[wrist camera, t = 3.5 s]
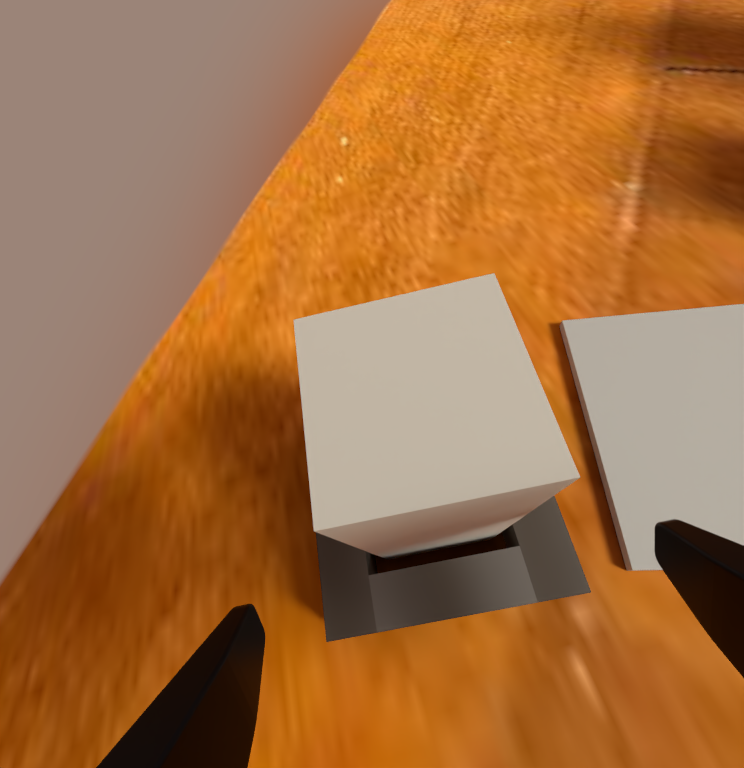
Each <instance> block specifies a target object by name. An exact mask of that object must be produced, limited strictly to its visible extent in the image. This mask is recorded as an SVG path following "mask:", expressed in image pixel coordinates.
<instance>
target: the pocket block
mask: <svg viewBox="0 0 744 768" xmlns="http://www.w3.org/2000/svg"><path fill="white" fill-rule="evenodd" d="M502 535H503V538H504V541H505V544H506V549H501V550H496V551H491V552H486V553H481V554H476V555H470V556H465V557H460V558H455V559H450V560H445V561H440V562H435V563H429V564H424V565H419V566H414V567H409V568H404V569H399V570H394V571H389V572H383V573H378V572H377V566H376V560H375V555H374V554H372V553H369V552H366V551H364V550H361V549H359V548H356V547H353V546H351V545H348V544H346V543H343V542H340V541H338V540H335V539H332V538H330V537H327V536H325V535H322V534H319V533H317V532H316V538H317V549H318V559H319V569H320V579H321V589H322V600H323V610H324V620H325V630H326V641H327V642H329V641H334V640H340V639H345V638H350V637H356V636H361V635H366V634H372V633H377V632H382V631H388V630H393V629H398V628H404V627H409V626H414V625H420V624H425V623H430V622H436V621H441V620H446V619H452V618H457V617H462V616H468V615H473V614H478V613H484V612H489V611H494V610H500V609H505V608H510V607H516V606H521V605H526V604H532V603H537V602H542V601H548V600H553V599H558V598H564V597H569V596H574V595H580V594H585V593H590V592H591V591H590V588H589V585H588V583H587V580H586V578H585V575H584V572H583V570H582V567H581V564H580V562H579V559H578V557H577V554H576V551H575V549H574V546H573V543H572V541H571V538H570V536H569V533H568V530H567V528H566V525H565V523H564V520H563V517H562V515H561V512H560V509H559V507H558V504H557V502H556V499H555V496H553V497H551V498H550V499H548V500H547V501H545V502H544V503H543V504H541V505H540V506H538V507H537V508H535V509H534V510H533V511H531V512H530V513H528V514H527V515H525V516H524V517H522V518H521V519H520V520H518V521H517V522H515V523H514V524H512V525H511V526H509V527H508V528H507V529H505V530H504V531H502Z"/></svg>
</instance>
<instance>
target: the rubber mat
mask: <svg viewBox="0 0 744 768" xmlns="http://www.w3.org/2000/svg"><path fill="white" fill-rule="evenodd" d="M560 330H561V334H562V338H563V341H564V345H565V349H566V352H567V356H568V359H569V363H570V367H571V370H572V374H573V378H574V381H575V385H576V389H577V392H578V396H579V399H580V403H581V407H582V410H583V414H584V418H585V421H586V425H587V428H588V432H589V436H590V439H591V443H592V447H593V450H594V454H595V458H596V461H597V465H598V468H599V472H600V476H601V479H602V483H603V487H604V490H605V494H606V498H607V501H608V505H609V508H610V512H611V516H612V519H613V523H614V527H615V530H616V534H617V537H618V541H619V545H620V548H621V552H622V556H623V559H624V563H625V567H626V570H627V571H628V570H663V569H662V568H661V567H660V565H659V563H658V561H657V559H656V557H655V525H656V524H657V523H658V522H662V521H667V520H672V519H678V520H681V521H684V522H686V523H689V524H691V525H694V526H696V527H699V528H701V529H704V530H706V531H709V532H711V533H714V534H716V535H719V536H721V537H724V538H726V539H729V540H731V541H734V542H736V543H739V544H741V545H744V304H738V305H727V306H717V307H706V308H695V309H684V310H673V311H662V312H651V313H640V314H630V315H619V316H608V317H597V318H586V319H575V320H564V321H562V322H561V324H560Z"/></svg>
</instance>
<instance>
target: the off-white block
mask: <svg viewBox="0 0 744 768" xmlns="http://www.w3.org/2000/svg"><path fill="white" fill-rule="evenodd" d="M294 329H295V340H296V350H297V361H298V371H299V382H300V392H301V403H302V413H303V423H304V434H305V444H306V455H307V465H308V476H309V486H310V497H311V507H312V518H313V528H314V532H317V533H319V534H322V535H325V536H327V537H330V538H332V539H335V540H338V541H340V542H343V543H346V544H348V545H351V546H353V547H356V548H359V549H361V550H364V551H366V552H369V553H372V554H374V555H377V556H380V557H382V558H385V559H387V560H390V559H395V558H400V557H405V556H410V555H415V554H420V553H425V552H430V551H435V550H440V549H445V548H451V547H456V546H461V545H466V544H471V543H476V542H481V541H486V540H491V539H492V538H494V537H495V536H497V535H498V534H499V533H501V532H502V531H504V530H505V529H507V528H508V527H509V526H511V525H512V524H514V523H515V522H517V521H518V520H520V519H521V518H522V517H524V516H525V515H527V514H528V513H530V512H531V511H533V510H534V509H535V508H537V507H538V506H540V505H541V504H543V503H544V502H545V501H547V500H548V499H550V498H551V497H553V496H554V495H556V494H557V493H558V492H560V491H561V490H563V489H564V488H566V487H567V486H568V485H570V484H571V483H573V482H574V481H576V480H577V479H579V478H580V476H579V473H578V471H577V468H576V466H575V464H574V461H573V459H572V457H571V454H570V452H569V449H568V447H567V445H566V442H565V440H564V438H563V435H562V433H561V430H560V428H559V426H558V423H557V421H556V419H555V416H554V414H553V411H552V409H551V407H550V404H549V402H548V400H547V397H546V395H545V392H544V390H543V388H542V385H541V383H540V381H539V378H538V376H537V374H536V371H535V369H534V366H533V364H532V362H531V359H530V357H529V355H528V352H527V350H526V347H525V345H524V343H523V340H522V338H521V336H520V333H519V331H518V328H517V326H516V324H515V321H514V319H513V317H512V314H511V312H510V309H509V307H508V305H507V302H506V300H505V298H504V295H503V293H502V291H501V288H500V286H499V283H498V281H497V279H496V276H495V274H494V273H493V274H489V275H484V276H480V277H476V278H471V279H467V280H463V281H458V282H454V283H450V284H446V285H441V286H437V287H433V288H428V289H424V290H420V291H415V292H411V293H407V294H402V295H398V296H394V297H390V298H385V299H381V300H377V301H372V302H368V303H364V304H359V305H355V306H351V307H347V308H342V309H338V310H334V311H329V312H325V313H321V314H316V315H312V316H308V317H303V318H299V319H295V320H294Z"/></svg>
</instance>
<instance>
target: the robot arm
mask: <svg viewBox="0 0 744 768" xmlns="http://www.w3.org/2000/svg"><path fill="white" fill-rule="evenodd" d="M655 557H656V559H657V561H658V563H659V565H660V567H661V568H662V569H663V571H664V572H665V574H666V575H667V577H668V578H669V579H670V581H671V582H672V584H673V585H674V587H675V588H676V589H677V591H678V592H679V594H680V595H681V597H682V598H683V600H684V601H685V602H686V604H687V605H688V607H689V608H690V610H691V611H692V612H693V614H694V615H695V617H696V618H697V620H698V621H699V622H700V624H701V625H702V627H703V628H704V629H705V631H706V632H707V633H708V635H709V636H710V637H711V639H712V640H713V641H714V642H715V644H716V645H717V646H718V647H719V649H720V650H721V651H722V652H723V654H724V655H725V656H726V657H727V658H728V660H729V661H730V662H731V663H732V664H733V666H734V667H735V668H736V669H737V670H738V672H739V673H740V674H741V675H742V676H743V678H744V545H741V544H739V543H736V542H734V541H731V540H729V539H726V538H724V537H721V536H719V535H716V534H714V533H711V532H709V531H706V530H704V529H701V528H699V527H696V526H694V525H691V524H689V523H686V522H684V521H681V520H678V519H672V520H667V521H662V522H658V523H657V524H656V525H655ZM264 647H265V632H264V628H263V626H262V623H261V621H260V619H259V616H258V614H257V612H256V609H255V607H254V606H253V605H252V604H246V605H241V606H236V607H234V608H233V609H232V610H231V611H230V612H229V613H228V614H227V615H226V617H225V618H224V619H223V620H222V621H221V622H220V624H219V625H218V626H217V627H216V628H215V629H214V631H213V632H212V633H211V634H210V635H209V636H208V638H207V639H206V640H205V641H204V642H203V643H202V645H201V646H200V647H199V648H198V649H197V650H196V652H195V653H194V654H193V655H192V656H191V657H190V659H189V660H188V661H187V662H186V663H185V664H184V666H183V667H182V668H181V669H180V670H179V672H178V673H177V674H176V675H175V676H174V677H173V679H172V680H171V681H170V682H169V683H168V684H167V686H166V687H165V688H164V689H163V690H162V691H161V693H160V694H159V695H158V696H157V697H156V698H155V700H154V701H153V702H152V703H151V704H150V705H149V707H148V708H147V709H146V710H145V711H144V712H143V714H142V715H141V716H140V717H139V718H138V719H137V721H136V722H135V723H134V724H133V725H132V726H131V728H130V729H129V730H128V731H127V732H126V733H125V735H124V736H123V737H122V738H121V739H120V741H119V742H118V743H117V744H116V745H115V746H114V748H113V749H112V750H111V751H110V752H109V753H108V755H107V756H106V757H105V758H104V759H103V760H102V762H101V763H100V764H99V765H98V766H97V767H96V768H247V767H248V762H249V757H250V752H251V747H252V742H253V737H254V731H255V726H256V720H257V712H258V704H259V694H260V685H261V675H262V666H263V656H264Z"/></svg>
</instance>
